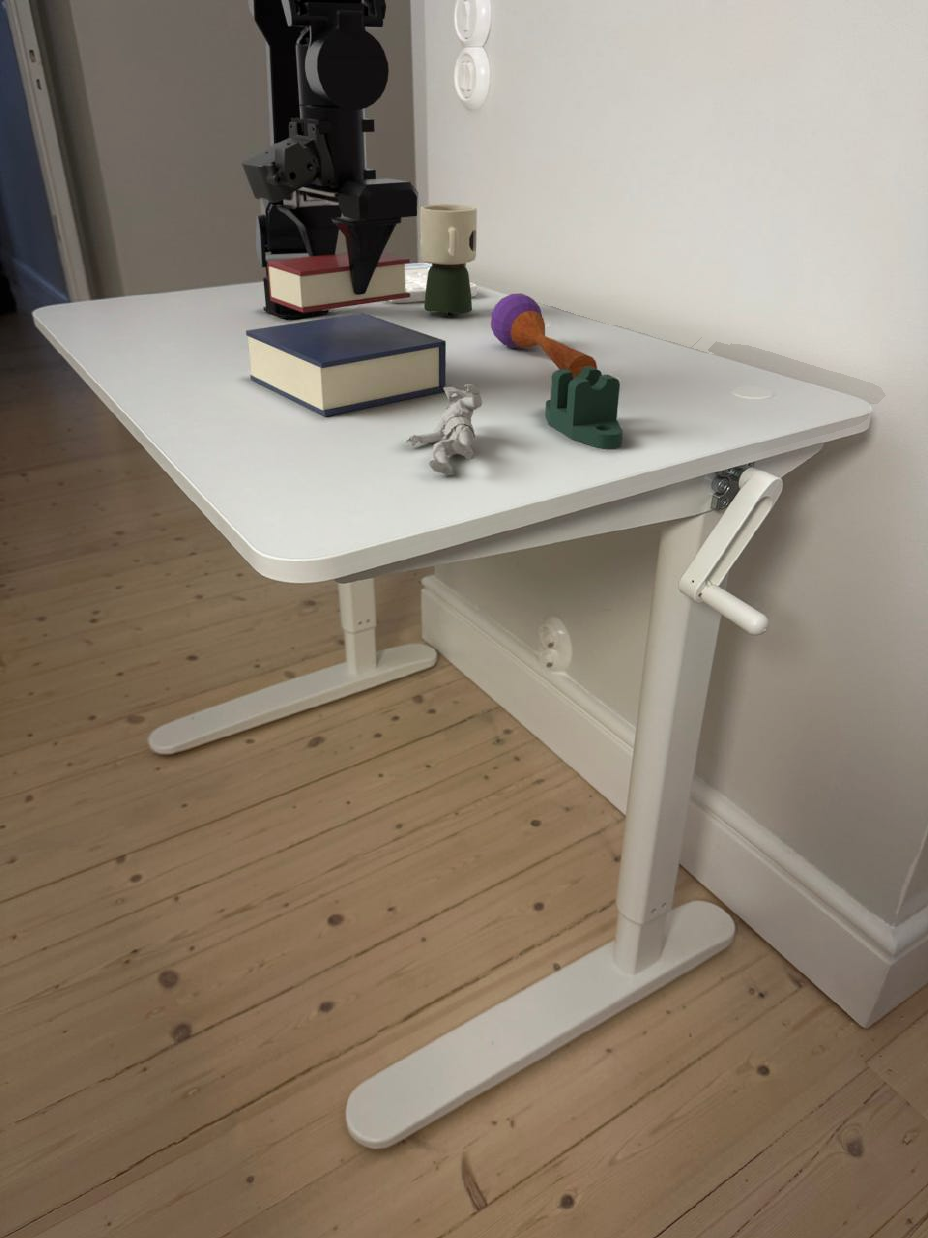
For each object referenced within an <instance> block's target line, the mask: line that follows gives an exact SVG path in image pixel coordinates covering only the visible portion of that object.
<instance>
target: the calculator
mask: <svg viewBox="0 0 928 1238" xmlns="http://www.w3.org/2000/svg"><path fill="white" fill-rule="evenodd" d="M431 266H432V263H428V262H417V263H416V262H415V263H413V262H412V263H406V264H405V292H407V293H410V297H409V298H402V299H395V300H388V301H387V302H389V303H392V304H404V303H405V304H406V303H417V302H425V293H426V285H427V277H428V271H429V269H430V267H431ZM469 282H470V290H471V298H474V297H476V296H477V294H478V291H479V289H478V286H477V284H475V283H474V282H471V281H469Z"/></svg>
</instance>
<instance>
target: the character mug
mask: <svg viewBox="0 0 928 1238" xmlns="http://www.w3.org/2000/svg"><path fill="white" fill-rule="evenodd" d="M419 213H420V214H419V216H420V222H419V223H420V260H422V261H423V262H425V263H429V264H432V266H431V267H430V269H429V271H428V277H427V285H426V293H425V301H424V307H423V309H424V311H426V312H431V313H446V315H447V317H452V316H453V314H460V315H461V314H468V313H470V312H472V311H473V303H472V297H471V290H470V282H471V281H470V275H469V271H468V269H467V264H468V263H471V262H473V261H475V260H476V258H477V228H478V227H477V226H478V225H477V224H478V221H477V220H478V208H477V207H475V206H473V205H465V204H450V203H449V204H448V203H447V204H446V203H445V204H444V203H442V204H441V203H440V204H428V205H423V206H421V207H420V209H419Z"/></svg>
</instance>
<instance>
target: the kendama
mask: <svg viewBox="0 0 928 1238" xmlns="http://www.w3.org/2000/svg"><path fill="white" fill-rule="evenodd" d="M490 326H491V331H492V334H493V336H494V337H495V338H496V339H497V340H498V341H499V342H500V343H501V344H502V345H503V346H506V347H508V348H511V349H517V348H521V349H530V348H533V347H536V346H539V347H540V349H541V350H542V351H543V352H544V353H545V354H546V355H547V357H548V358H549V359H550V360H551V361H552V363H553V364H554V365H555V366H556V368H557V369H558V370H560V369H567V370H569V371H571V372H572V375H573V378H574V377H577V376H578V375H579V374H580V373H581V371H582V368H583V367H586V366H592V367H594V368H596V369H598V365H597V361H596V360H595V359H594V358H593V356H591V355H588V354H586V353H584V352H582V351H580V350H578V349H575V348H573V347H571V346H569V345H567V344H564V343H562V342H560V341H558V340H555V339H553V338H551V337H549V336H547V335H546V323H545V319H544V316H543V313H542V310H541V307H540V305H539V303H537V302H536V300H535V299H533V298H532V297H531V296H529V295H526V294H524V293H522V292H521V293H511V294H508V295H506V296H504V297H502V298H500V299H499V301H498V302H497V303H496V304H494V306H493V309H492V312H491V319H490Z"/></svg>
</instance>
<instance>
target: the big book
mask: <svg viewBox="0 0 928 1238" xmlns="http://www.w3.org/2000/svg"><path fill="white" fill-rule="evenodd" d="M245 336H246V337H247V342H248V344H247V345H248V353H249V363H250V372H251V374H250V380H251V381H253V382H255V383H257V384H259V385H261V386H263V387H265V388H267V389H269V390H271V391H273V392H275V393H277V394H279V395H281V396H283V397H285V398H286V399H289V400H291V401H293V402H295V403H297V404H299V405H300V406H302V407H305V408H307V409H309V410H311V411H313V412H315V413H317V414H319V415H320V416H323V417H331V416H335V415H340V414H343V413H349V412H355V411H359V410H363V409H367V408H373V407H376V406H377V407H378V406H382V405H386V404H387V405H388V404H391V403H396V402H401V401H406V400H409V399H415V398H419V397H424V396H428V395H434V394H438V393H443V392H445V391H444V387H447V385H446V384H447V383H446V381H447V379H446V378H447V377H446V375H447V374H446V373H447V371H446V369H447V368H446V367H447V366H446V365H447V364H446V363H447V362H446V361H447V359H446V358H447V357H446V355H447V351H446V350H447V347H446V346H447V340H445V339H441V338H438V337H435V336H433V335H430V334H426V333H424V332H420V331H417V330H415V329H412V328H409V327H406V326H403V325H400V324H397V323H394V322H391V321H388V320H385V319H383V318H379V317H376V316H374V315H370V314H368V313H365V312H360V313H353V314H347V315H346V314H345V315H340V316H333V317H326V318H320V319H313V320H307V321H306V320H305V321H299V322H294V323H287V324H279V325H274V326H267V327H260V328H254V329H247V330H245Z"/></svg>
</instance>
